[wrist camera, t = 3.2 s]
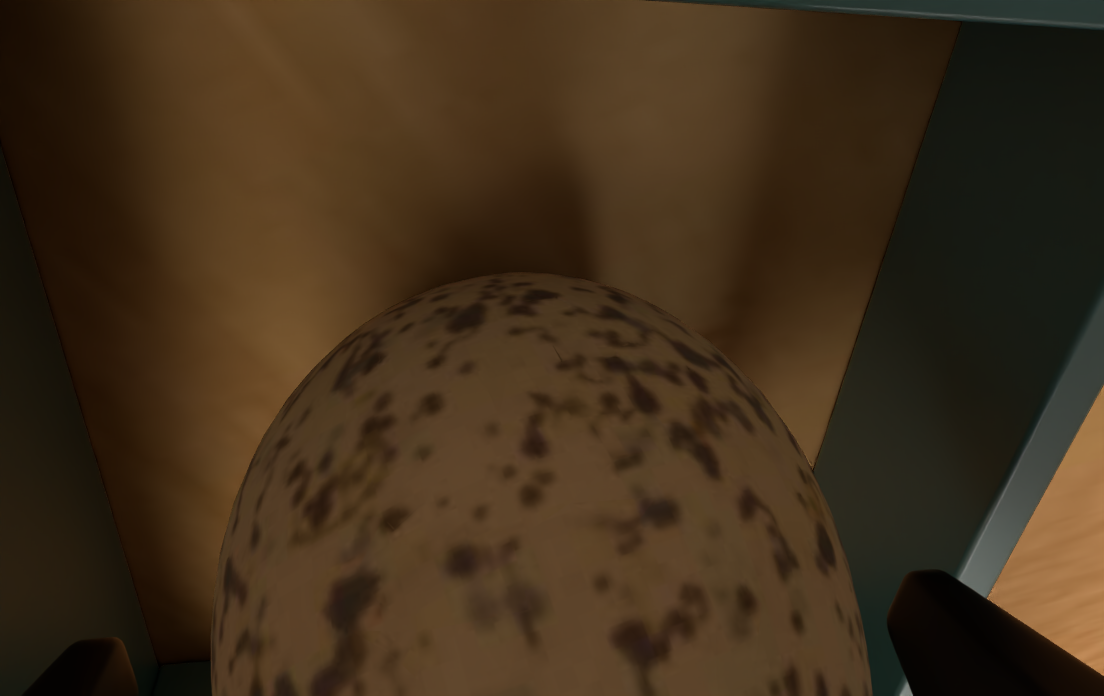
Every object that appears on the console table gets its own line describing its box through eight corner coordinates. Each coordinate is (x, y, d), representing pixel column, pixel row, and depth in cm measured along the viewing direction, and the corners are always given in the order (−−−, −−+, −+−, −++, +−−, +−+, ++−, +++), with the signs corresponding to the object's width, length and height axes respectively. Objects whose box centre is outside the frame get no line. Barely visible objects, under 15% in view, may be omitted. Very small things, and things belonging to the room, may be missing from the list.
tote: (1042, -71, 10) (1345, -48, 7) (789, 628, 18) (878, 800, 15) (-180, -182, 8) (-625, -231, 4) (124, 692, 15) (46, 919, 12)
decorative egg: (774, 269, 13) (1513, 1039, 4) (591, 563, 16) (809, 1354, 7) (350, 105, 10) (89, 1190, 2) (229, 493, 13) (-76, 1570, 5)
